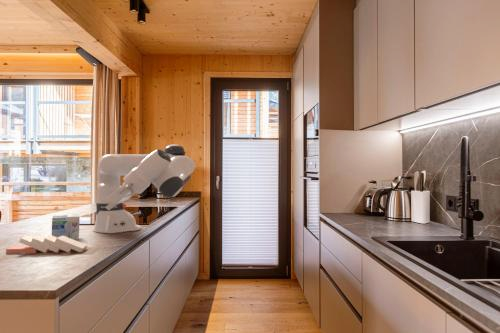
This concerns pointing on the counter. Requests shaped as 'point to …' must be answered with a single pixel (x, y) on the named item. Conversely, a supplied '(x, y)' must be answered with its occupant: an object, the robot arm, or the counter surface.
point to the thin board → (87, 251)
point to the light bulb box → (66, 226)
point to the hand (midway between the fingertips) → (108, 208)
